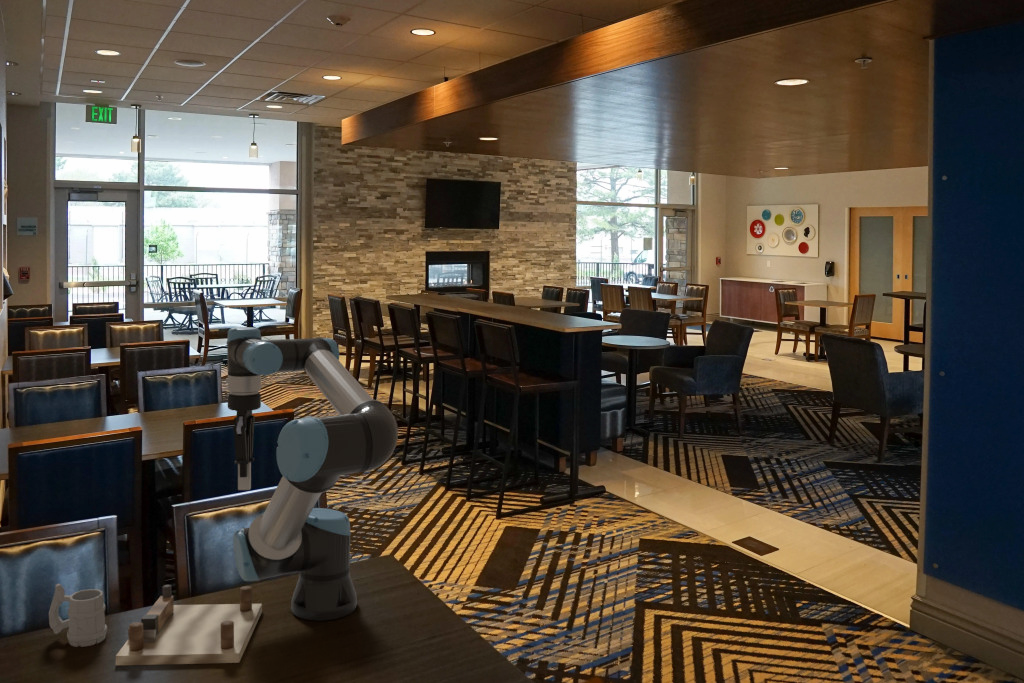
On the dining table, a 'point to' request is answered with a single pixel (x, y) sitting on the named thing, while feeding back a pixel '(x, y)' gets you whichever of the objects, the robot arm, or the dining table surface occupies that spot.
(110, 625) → the dining table surface
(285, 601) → the dining table surface
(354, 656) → the dining table surface
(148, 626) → the brown piece
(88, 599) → the mug
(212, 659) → the stool seat
